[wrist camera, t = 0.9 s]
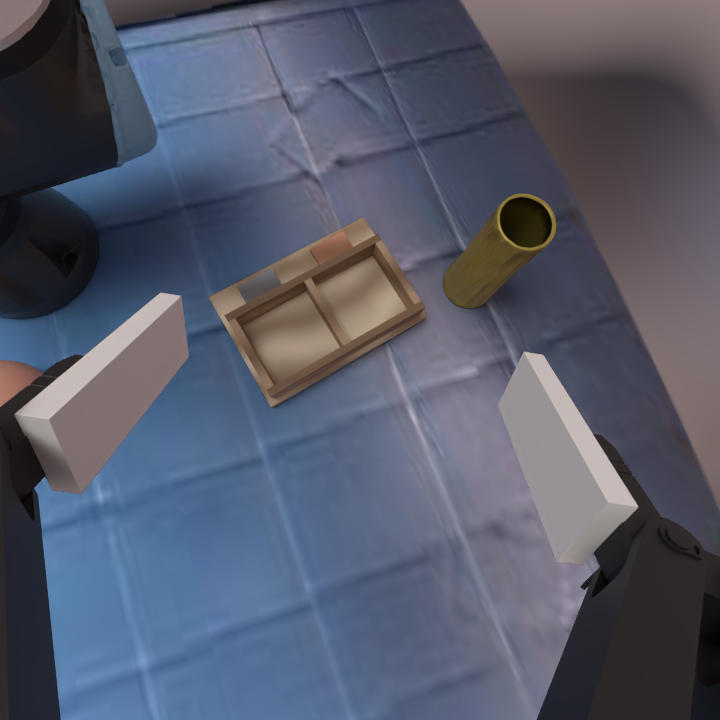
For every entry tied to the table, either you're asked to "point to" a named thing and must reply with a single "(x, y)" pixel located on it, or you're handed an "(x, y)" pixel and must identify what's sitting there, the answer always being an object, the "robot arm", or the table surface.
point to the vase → (500, 250)
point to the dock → (318, 310)
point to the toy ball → (15, 378)
